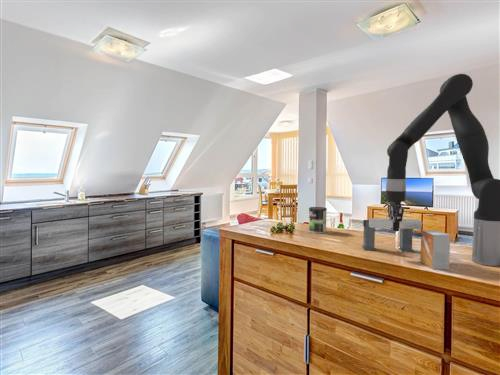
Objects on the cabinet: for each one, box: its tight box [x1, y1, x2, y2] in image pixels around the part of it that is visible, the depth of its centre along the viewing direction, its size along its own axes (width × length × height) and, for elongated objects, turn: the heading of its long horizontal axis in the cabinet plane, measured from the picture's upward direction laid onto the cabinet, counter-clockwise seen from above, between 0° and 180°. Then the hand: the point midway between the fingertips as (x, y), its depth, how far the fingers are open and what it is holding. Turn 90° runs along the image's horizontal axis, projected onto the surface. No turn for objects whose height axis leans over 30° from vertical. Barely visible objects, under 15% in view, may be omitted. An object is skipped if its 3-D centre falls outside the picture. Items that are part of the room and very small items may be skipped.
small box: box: [419, 229, 451, 270], centre depth 112 cm, size 8×6×13 cm
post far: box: [361, 219, 377, 251], centre depth 137 cm, size 5×6×13 cm
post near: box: [398, 228, 414, 253], centre depth 134 cm, size 5×6×13 cm
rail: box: [368, 217, 423, 230], centre depth 125 cm, size 20×4×4 cm, turn 81°
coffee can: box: [308, 206, 328, 234], centre depth 175 cm, size 10×10×14 cm
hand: (394, 229), depth 125 cm, fingers closed on rail, 3 cm apart
